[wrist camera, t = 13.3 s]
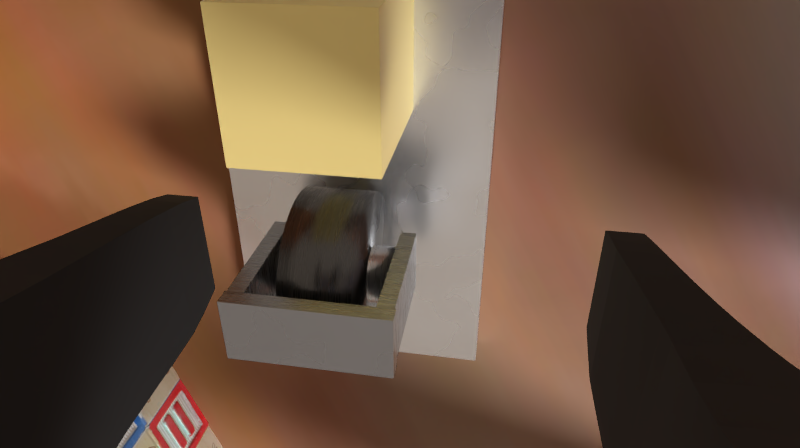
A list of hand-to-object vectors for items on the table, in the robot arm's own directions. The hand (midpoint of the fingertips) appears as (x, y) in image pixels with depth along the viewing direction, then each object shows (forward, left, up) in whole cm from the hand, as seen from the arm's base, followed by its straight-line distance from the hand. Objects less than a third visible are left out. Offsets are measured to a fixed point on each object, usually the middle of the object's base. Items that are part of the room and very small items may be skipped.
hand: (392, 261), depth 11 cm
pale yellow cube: (+3, -2, -9) cm, 10 cm away
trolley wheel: (+3, +3, -10) cm, 11 cm away
